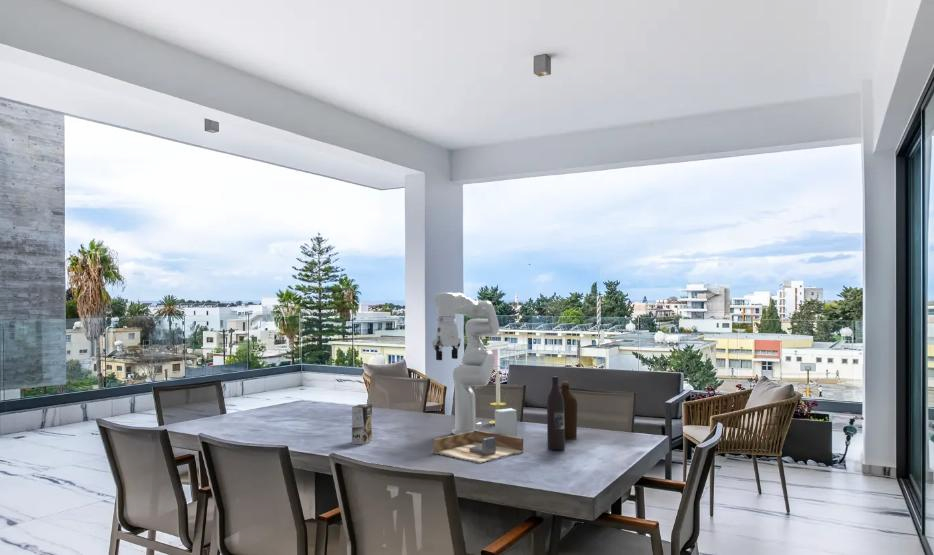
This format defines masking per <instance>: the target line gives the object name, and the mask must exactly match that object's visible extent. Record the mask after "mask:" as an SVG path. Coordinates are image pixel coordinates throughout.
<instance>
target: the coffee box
mask: <svg viewBox="0 0 934 555" xmlns="http://www.w3.org/2000/svg"><path fill="white" fill-rule="evenodd" d="M372 441H373V404H372V403H371V404H368V403H367V404H365V403H364V404H356V405H355V406H352V408H351V444H352V445H366V444H368V443H370V442H372Z"/></svg>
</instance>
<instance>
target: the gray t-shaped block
mask: <svg viewBox="0 0 934 555" xmlns="http://www.w3.org/2000/svg"><path fill="white" fill-rule="evenodd" d="M470 452H474V453H479V454H482V455H489V454H492V453H496V437H489V438H485V439H482V447H481V446H475V447H472V448H470Z"/></svg>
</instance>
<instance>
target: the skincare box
mask: <svg viewBox="0 0 934 555" xmlns="http://www.w3.org/2000/svg"><path fill="white" fill-rule="evenodd" d="M517 419H518V416H517V410H516V409H514V408H512V407H510V408H502V409H499V410H496V409H494V421H495V425H494V428H495V429H494V430H495V431H494V433H496V434H502V435H508V436H513V437H518V422H517Z"/></svg>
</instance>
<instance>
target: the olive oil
mask: <svg viewBox="0 0 934 555" xmlns="http://www.w3.org/2000/svg"><path fill="white" fill-rule="evenodd" d="M560 392H561V394H562V396H563V399H564V428H565V440H574V439H576V438H577V436H578V435H577V428H578V425H577V424H578V399H577V398H576V396H575V395H574V393H572V392H571V391H570V382H569V381H567V380H564V381H561V389H560ZM573 438H574V439H573Z"/></svg>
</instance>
